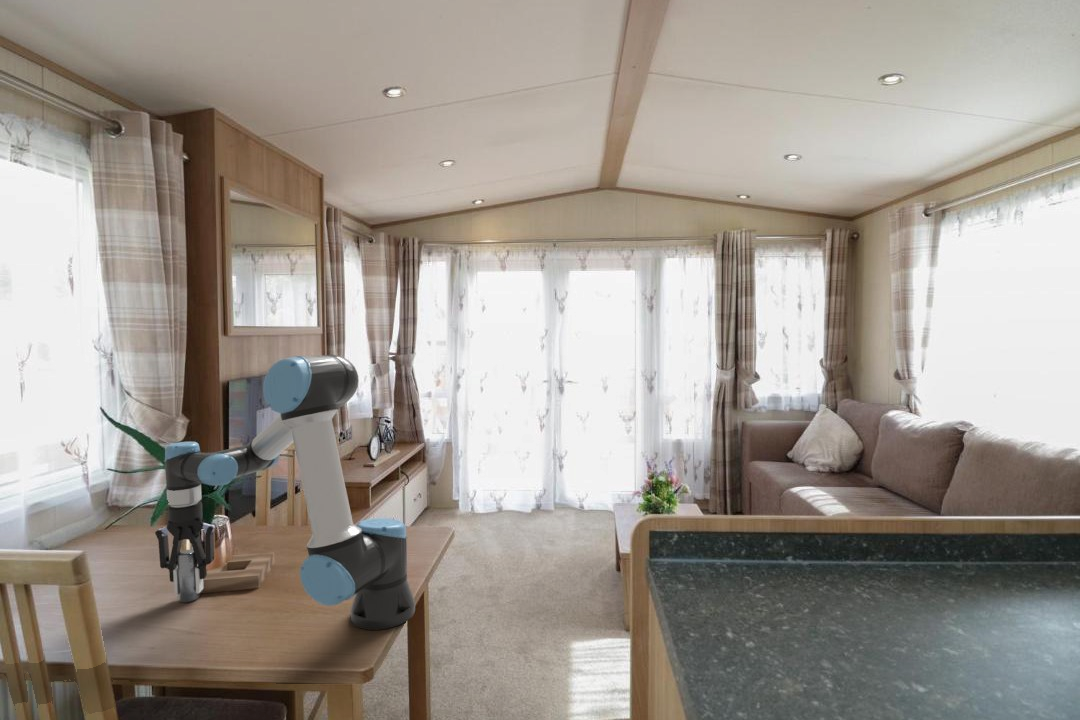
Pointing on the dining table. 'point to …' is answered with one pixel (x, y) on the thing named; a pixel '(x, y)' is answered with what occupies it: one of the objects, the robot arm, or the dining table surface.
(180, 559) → the grey metal peg
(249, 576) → the jig
